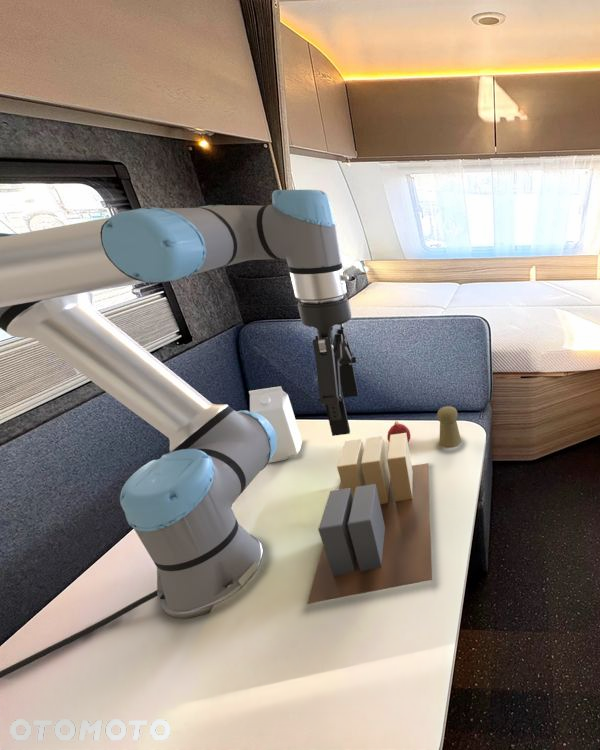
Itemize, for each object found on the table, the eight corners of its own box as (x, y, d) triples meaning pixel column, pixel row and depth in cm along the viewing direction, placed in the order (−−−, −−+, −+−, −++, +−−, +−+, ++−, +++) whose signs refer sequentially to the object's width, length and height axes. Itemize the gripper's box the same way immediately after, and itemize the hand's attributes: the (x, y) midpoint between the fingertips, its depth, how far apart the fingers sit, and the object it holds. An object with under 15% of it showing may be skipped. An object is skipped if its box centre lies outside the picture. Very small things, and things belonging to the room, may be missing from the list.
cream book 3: (395, 501, 82) (387, 459, 77) (397, 474, 90) (390, 434, 86) (412, 498, 83) (405, 457, 78) (412, 471, 91) (406, 432, 86)
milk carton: (274, 447, 104) (252, 385, 96) (302, 442, 106) (283, 380, 98) (268, 463, 98) (244, 397, 90) (298, 457, 99) (278, 392, 91)
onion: (416, 445, 103) (412, 419, 99) (401, 456, 98) (396, 430, 95) (401, 439, 106) (396, 413, 102) (385, 450, 101) (380, 424, 98)
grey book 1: (333, 576, 66) (318, 529, 62) (342, 534, 74) (329, 490, 70) (354, 572, 67) (341, 525, 62) (361, 531, 75) (350, 487, 70)
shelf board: (308, 608, 62) (306, 603, 62) (343, 479, 91) (342, 475, 90) (432, 584, 66) (432, 579, 65) (428, 467, 94) (428, 463, 94)
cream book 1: (348, 509, 81) (337, 467, 76) (354, 480, 89) (344, 441, 84) (366, 506, 81) (355, 464, 76) (370, 478, 89) (362, 438, 85)
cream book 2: (370, 505, 81) (360, 463, 77) (374, 477, 89) (366, 438, 85) (388, 502, 82) (379, 461, 77) (390, 475, 90) (383, 435, 85)
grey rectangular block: (360, 571, 67) (347, 524, 62) (366, 530, 75) (355, 486, 70) (381, 567, 68) (370, 520, 63) (385, 527, 76) (375, 483, 71)
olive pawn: (458, 452, 99) (454, 416, 94) (436, 450, 100) (431, 414, 95) (464, 439, 104) (461, 404, 100) (443, 437, 105) (439, 402, 101)
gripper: (335, 317, 51) (361, 450, 60) (356, 280, 73) (372, 381, 82) (273, 322, 49) (309, 457, 58) (313, 283, 71) (335, 385, 80)
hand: (346, 413), depth 70 cm, fingers open, 13 cm apart
